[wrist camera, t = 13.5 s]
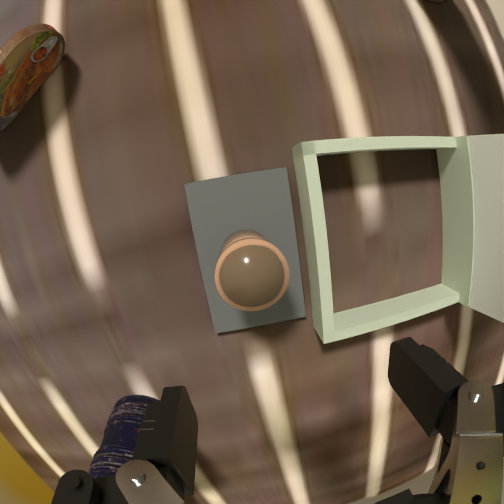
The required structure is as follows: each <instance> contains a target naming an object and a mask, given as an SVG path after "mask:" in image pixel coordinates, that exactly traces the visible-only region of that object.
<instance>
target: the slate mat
mask: <svg viewBox="0 0 504 504" xmlns="http://www.w3.org/2000/svg"><path fill="white" fill-rule="evenodd" d="M184 185H185V191H186V196H187V202H188V207H189V213H190V218H191V223H192V229H193V234H194V239H195V244H196V249H197V254H198V258H199V263H200V268H201V273H202V277H203V282H204V286H205V291H206V295H207V300H208V304H209V308H210V313H211V317H212V321H213V325H214V329H215V333H221V332H227V331H233V330H239V329H245V328H250V327H256V326H261V325H267V324H272V323H277V322H282V321H287V320H292V319H297V318H301V317H306V316H305V306H304V297H303V288H302V279H301V270H300V262H299V253H298V245H297V238H296V230H295V222H294V215H293V208H292V201H291V194H290V187H289V181H288V174H287V168H286V167H284V168H277V169H270V170H263V171H256V172H250V173H244V174H237V175H231V176H226V177H220V178H214V179H209V180H203V181H198V182H193V183H188V184H184ZM240 230H253V231H256V232H259V233H260V234H262V235H263V236H264V237H265V238H266V239H267V240H268V241H269V242H270V243H272V244H273V245H275V246H276V247H277V248H278V249H279V250H280V251H281V253H282V254H283V256H284V257H285V259H286V261H287V264H288V267H289V282H288V286H287V288H286V290H285V292H284V294H283V295H282V297H281V298H280V299H279V300H278V301H277V302H276V303H274V304H273V305H272V306H270V307H268V308H265V309H263V310H259V311H244V310H240V309H237V308H235V307H233V306H231V305H230V304H228V303H227V302H226V301H225V300H224V299H223V298H222V297H221V295H220V294H219V292H218V290H217V287H216V284H215V268H216V264H217V260H218V258H219V256H220V252H221V247H222V245H223V243H224V241H225V240H226V239H227V238H228V237H229V236H230V235H231V234H233V233H235V232H237V231H240Z"/></svg>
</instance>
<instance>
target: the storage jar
mask: <svg viewBox="0 0 504 504" xmlns="http://www.w3.org/2000/svg"><path fill="white" fill-rule="evenodd" d="M153 401H159V400H157V399H155V398H152V397H149V396H144V395H128V396H124V397H122V398H121V399H119V400H118V401H117V402H116V404H115V406H114V409H113V411H112V413H111V414H110V416H109V419H108V421H107V425H106V428H105V431H104V438H103V441H102V444H101V446H100V449H98V450H97V451H96V453H95V454H94V457H93V461H92V462H91V465H90V468H89V473H88V474H90V476H91V477H92V478H100V477H106V476H111V475H115V474H116V473H117V471H118V469H119V468H120V467H121V466H122V465H123V464H125V463H127V462H129V461H131V460H132V457H133V453H134V450H135V446H136V442H137V439H138V435H139V432H140V430H141V425H142V422H143V418H144V414H145V411H146V409H147V408H148V407H149V406H150V405H151V403H152V402H153Z"/></svg>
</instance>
